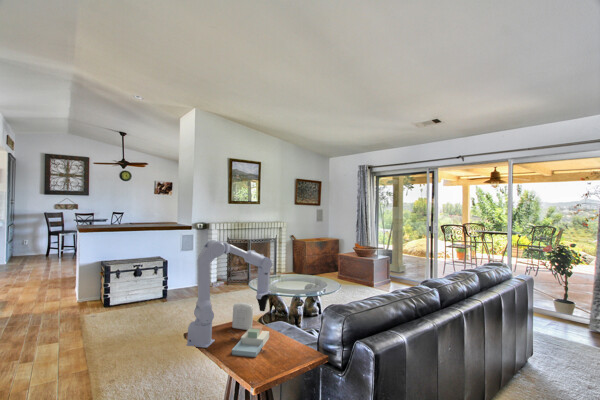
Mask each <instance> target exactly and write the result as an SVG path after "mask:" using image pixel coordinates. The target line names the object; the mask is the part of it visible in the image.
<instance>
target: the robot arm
mask: <svg viewBox="0 0 600 400" xmlns="http://www.w3.org/2000/svg"><path fill="white" fill-rule="evenodd" d="M229 253H230V254H232V255H235V256H238V257H240V258H243V260H244V262H245V263H248V264H249V265H252V266H254V267H257V281H256V283H257V287H256V288H257V289H256V296H255V298H256V300H257V303H258V308H259V311H260V312H265V310H266V307H267V303H268V300H269V299H270V296H271V295H272V291H270V276H271V275H270V273H271V268H272V266H273V262H272V260H271V258H270V257H267V256H264V253H261V254H260V253H258V252H256V250H253V249H249V250H247V251H246V250H244V249H242V248H239V247H237V246H235V245H233V244H230V243H227V242H223V241H218V240H215V239H212V240H209V241H207V242H206V243H205V244H204V245H203V248H202V250H201V251H200V253H199V256H198V257H197V260H196V261H197V263H196V264H197V301H196V303H195V304H196V306H195V308H194V311H193V314H194V317H195V320H194V321H191V322H190V323H189V325H188V328H187V339H186V344H185V345H186V346H188V347H195V348H205V349H207V348H209V347H210V346H211V345H212V344H213V343H215V341H216V340H215V339H213V338H212V334H213V333H212V331H213V320H214V318H215V313H214V311H213V307H212V306H213V305H212V303H211V302H212V301H211V271H210V269H211V268H210V267H211V266H210V264H211V263H212V262H213V261H214V260H215V259H216V258H219V257H222V255H224V254H225V255H226V254H229ZM270 294H271V295H270ZM194 345H195V346H194Z"/></svg>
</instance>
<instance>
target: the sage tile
mask: <svg viewBox="0 0 600 400" xmlns="http://www.w3.org/2000/svg"><path fill="white" fill-rule="evenodd" d="M259 335H260V329H250V330H249V331H248V338H258V336H259Z"/></svg>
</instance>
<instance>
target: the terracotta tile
mask: <svg viewBox="0 0 600 400" xmlns="http://www.w3.org/2000/svg"><path fill="white" fill-rule="evenodd" d="M263 327H264V326H263V325H256V324H254V325H252V328H251V329H260V334H261V333H262V331H263Z"/></svg>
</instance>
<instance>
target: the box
mask: <svg viewBox="0 0 600 400" xmlns="http://www.w3.org/2000/svg"><path fill="white" fill-rule="evenodd" d="M263 348H264V346H263V342H262V343H261V344H260V346H257V345H247V344H241V339H240V340H239V341H238V342H237V343H236V345H234V347H233V348H232V349H231V356H238V357H247V358H257V356H258V355H259V353H260V351H261V350H262V349H263Z"/></svg>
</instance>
